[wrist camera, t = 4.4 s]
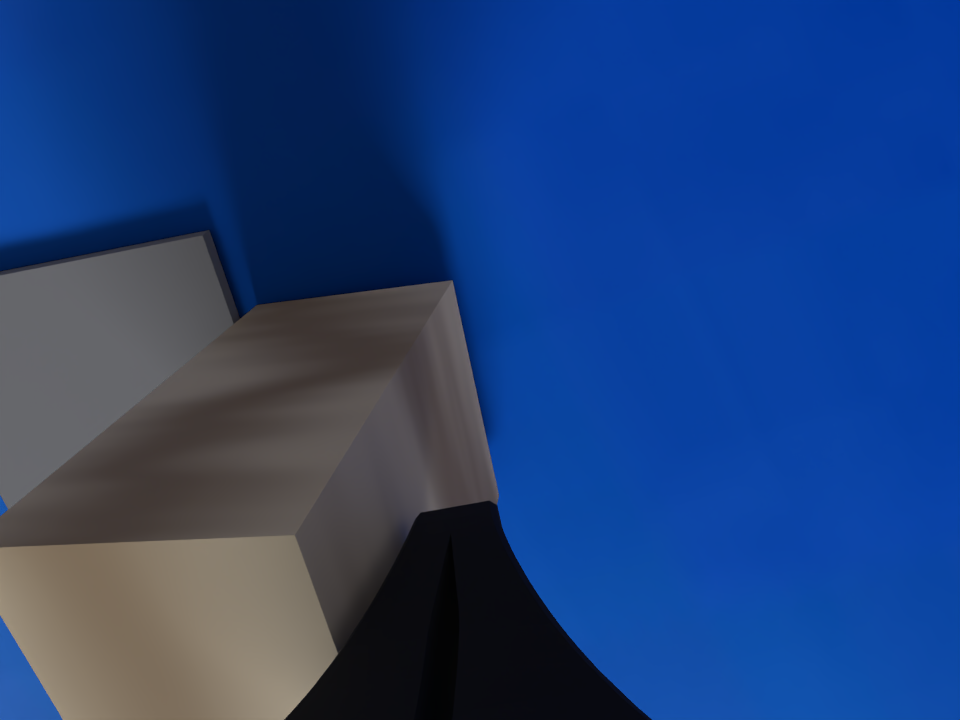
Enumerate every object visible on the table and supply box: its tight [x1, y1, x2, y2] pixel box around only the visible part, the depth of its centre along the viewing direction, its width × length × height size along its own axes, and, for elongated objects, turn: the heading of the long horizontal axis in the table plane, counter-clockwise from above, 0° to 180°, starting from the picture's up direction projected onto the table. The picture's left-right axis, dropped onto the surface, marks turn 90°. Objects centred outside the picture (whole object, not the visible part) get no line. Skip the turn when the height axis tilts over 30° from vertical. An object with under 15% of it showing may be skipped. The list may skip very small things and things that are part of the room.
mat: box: [0, 230, 240, 510], centre depth 19 cm, size 8×10×1 cm
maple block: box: [0, 280, 499, 720], centre depth 14 cm, size 5×6×9 cm
